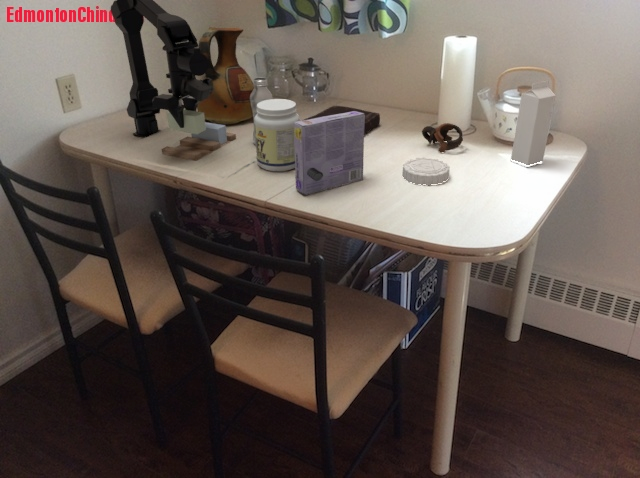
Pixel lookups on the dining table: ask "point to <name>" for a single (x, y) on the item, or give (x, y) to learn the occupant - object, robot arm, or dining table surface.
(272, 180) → the dining table surface
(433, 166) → the mooncake
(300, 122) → the cake pan box
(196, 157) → the slot rack
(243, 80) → the ceramic pitcher
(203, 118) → the sage block
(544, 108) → the milk
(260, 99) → the plastic bottle
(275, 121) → the supplement tub
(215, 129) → the slate block
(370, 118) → the diary
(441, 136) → the brown coiled piece
